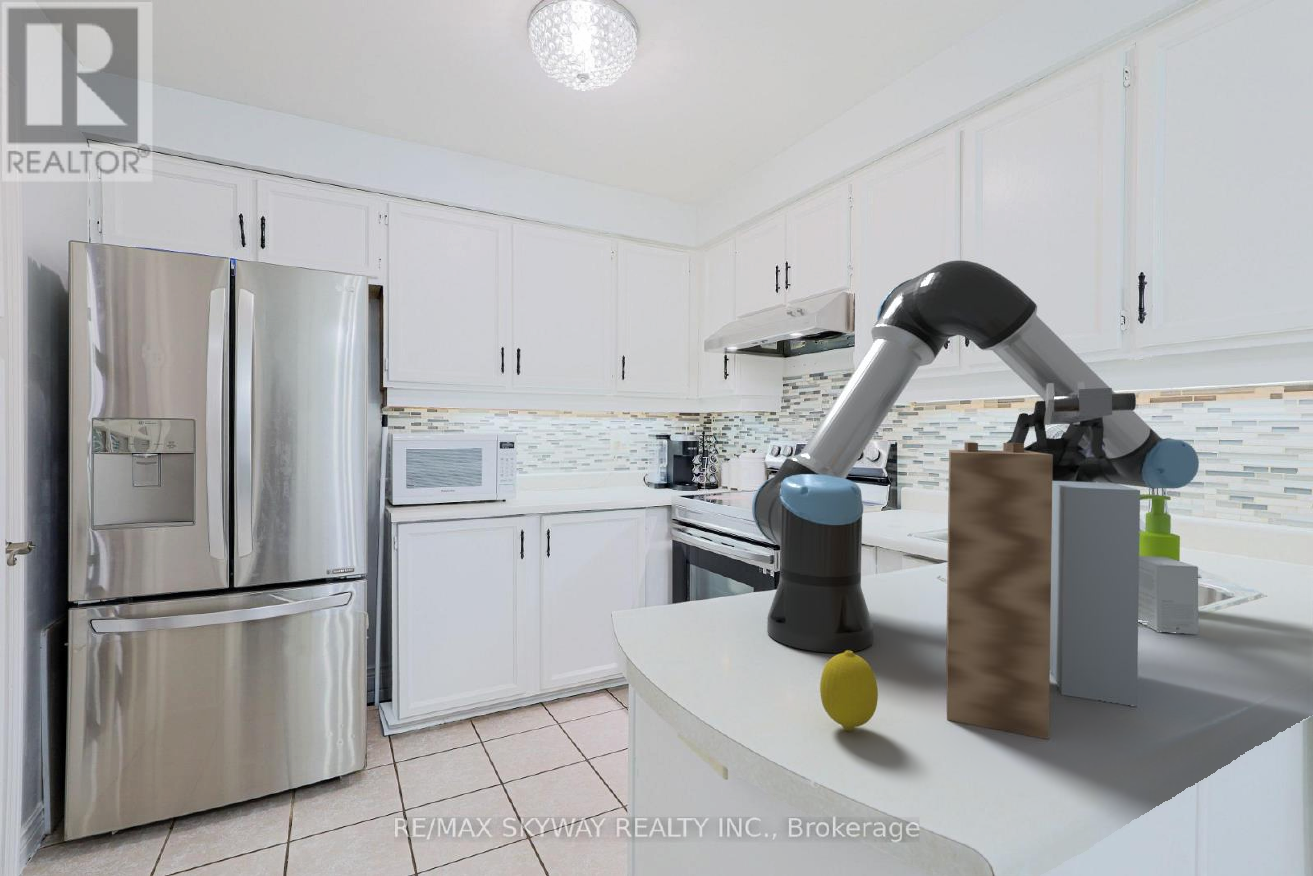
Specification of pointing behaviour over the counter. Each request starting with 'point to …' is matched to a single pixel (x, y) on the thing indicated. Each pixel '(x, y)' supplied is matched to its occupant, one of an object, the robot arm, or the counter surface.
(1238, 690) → the counter surface
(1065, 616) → the block
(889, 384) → the robot arm
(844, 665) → the lemon
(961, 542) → the walnut stand
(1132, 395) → the dark grey bar
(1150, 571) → the small box
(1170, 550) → the soap dispenser
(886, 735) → the counter surface
